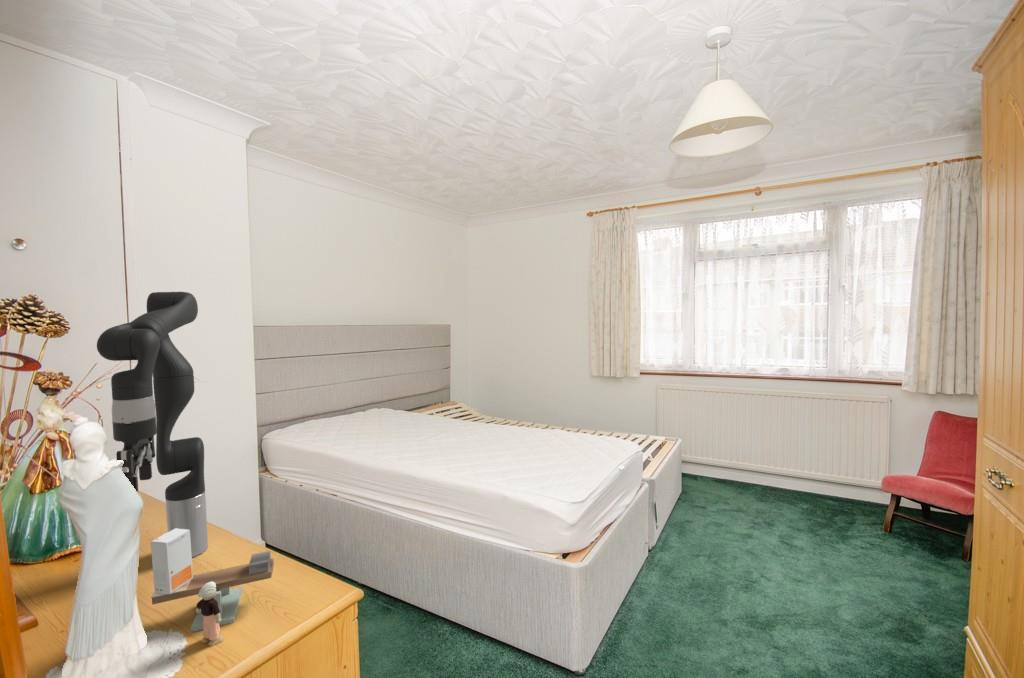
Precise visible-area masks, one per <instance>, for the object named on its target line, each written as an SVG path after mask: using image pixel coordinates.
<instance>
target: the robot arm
mask: <svg viewBox="0 0 1024 678" xmlns="http://www.w3.org/2000/svg"><path fill="white" fill-rule="evenodd" d="M198 311H199V307H198V302H197V299H196V297H195V296H194V294H192V293H190V292H188V291H159V292H158V291H157V292H155V291H154V292H151V293H150V294H148V295H147V299H146V313H143V314H141V315H140V316H139V315H138V317H136V318H135V319H134V320H132V321H131V322H127V323H122V324H119V325H115V326H112V327H110V328H107V329H106V330H104V331H103V332H102V333H101V334H100V335H99V337H98V338H97V341H96V349H97V352H98V353H99V356H101V357H103V358H104V359H106V360H108V361H113V362H114V361H115V362H116V361H119V362H120V361H137V363H136V365H135V367H134V368H132V369H128V370H123V371H118V372H115V373H113V375H112V376H111V379H110V382H111V383H110V384H111V397H112V399H111V400H112V403H111V419H112V420H111V421H112V423H111V424H112V432H113V433H112V436H113V437H112V438H113V440H114V441H115V442H121V443H123V444H124V445H123V448H122V450H117V452H116V454H115V455H116V461H117V460H123V461H124V464H123V466H122V471H123V473H124V474H125V476H126V477H127V478H128V479H129V481H130V482H131V484H132V485H133V486H134V488H135V489H136V491H137V493H138V492H139V486H138V485H139V484H138V479H139V480H140V481H147V480H148V481H149V480H151V479H152V478H153V472H152V470H153V469H152V464H153V461H154V459H156V469H157V471H158V474H160V475H161V476H168V475H175V474H179V473H185V472H188V473H187V474H186V475H184V477H182V478H180V479H178V480H177V481H175V482H173V483H171V484H169V485H168V486H167V487H166V488H165V491H164V494H165V495H164V497H165V512H166V513H165V514H166V528H167V532H170V531H171V530H173V529H175V528H178V529H187V530H190V541H191V554H192V558H194V557H196V556H199V555H201V554H202V553H204V552H206V551H207V550H208V548H209V540H208V536H209V535H208V520H207V500H206V498H207V497H206V485H205V484H206V482H205V445H204V441H203V439H202V438H201V437H197V436H195V437H194V436H193V437H188V438H181V439H175V440H171V434H172V431H173V429H174V427H175V425H176V423H177V420H178V419H179V417H180V416H181V414H182V413H183V412H184V410H185V409H186V407H187V405H188V404H189V403H190V401H191V399H192V398H193V395H194V393H195V375H194V373H195V372H194V370H193V369H194V368H193V366H192V365H191V364H190V362H189V361H188V359H187V358H186V357H185V356H184V355H183V354H182V353H181V352H180V350H179V349H178V348H177V347H176V346H175V344H174V343H173V341H172V339H171V337H170V335H169V334H170V333H171V332H173V331H176V330H177V329H180V328H181V327H184V326H185V325H189V324H190V323H192V322H195V320H196V319H197V317H198V313H199V312H198ZM155 435H156V438H155ZM155 439H156V440H155ZM155 441H156V443H155ZM155 444H156V445H155ZM155 446H156V447H155ZM138 475H139V478H138ZM167 532H166V533H167Z"/></svg>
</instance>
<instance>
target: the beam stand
mask: <svg viewBox="0 0 1024 678" xmlns="http://www.w3.org/2000/svg"><path fill="white" fill-rule="evenodd" d="M243 589H244V588H243V586H241V587H240V586H239V587H237V588H231V587H228V588H224V589H220V590H219V591H217V592H216V595H215V596H214V599H215V600H216V601H217V602H218V607H219V609H220V615H221V616H220V618H221V622H220V623H219V626H223V625H228V624H232V623H235V619H236V615H237V612H238V609H239V605H240V601H241V598H242V595H243V591H244V590H243ZM203 618H204V617H203V615H202V613H201V611H200V612H199V613H197V612H196V615H195V617H194V620H193V622H192V625H191V627H190V630H191V631H190V632H191V633H194V632H199V631H201V630H203ZM203 631H204V630H203Z"/></svg>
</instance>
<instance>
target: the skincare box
mask: <svg viewBox="0 0 1024 678" xmlns="http://www.w3.org/2000/svg"><path fill="white" fill-rule="evenodd" d="M150 551H151V561H152V573H153V574H152V575H153V587H154V588H153V589H154V591H155V592H156V593H162V594H171V593H172V592H174V591H175V590H177V589H178V588H180V587H181V586H183V585H184V584H186V583H187V582H189V581H190V580H192V579H193V575H194V570H193V557H192V554H191V541H190V530H187V529H178V528H175V529H173V530H171V531H170V532H166V533H163V534H162V535H160V536H159V537H157V538H155V539H153V540H151V541H150Z"/></svg>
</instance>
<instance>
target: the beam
mask: <svg viewBox="0 0 1024 678" xmlns="http://www.w3.org/2000/svg"><path fill="white" fill-rule="evenodd" d="M274 565H275V559H274V557H273V558H272V553H271V550H268V551H263V552H258V553H253V554H251V557H250V560H249V563H245V564H240V565H236V566H232V567H226V568H222V569H218V570H213V571H208V572H204V573H198V574H195V575H194V574H193V579H192V580H190V581H189V582H187V583H186V584H184V585H183V586H181V587H180V588H178V589H177V590H175V591H174V592H172V593H171V594H162V593H156V592H155V590H154V591H153V593H152V595H151V597H150V599H151V604H152V605H157V604H161V603H166V602H170V601H174V600H178V599H183V598H184V599H185V598H187V597H192V596H198V593H199V591H200V589H201V588H202V587H203V586H204V585H205V584H206V583H208V582H214V583H216V592H217V591H219V590H220V589H224V588H228V587H230V588H233V587H236V586H242V585H245V584H250V583H254V582H258V581H262V580H267V579H271V578H272V576H273V572H274V571H273V570H274ZM152 605H151V606H152Z"/></svg>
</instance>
